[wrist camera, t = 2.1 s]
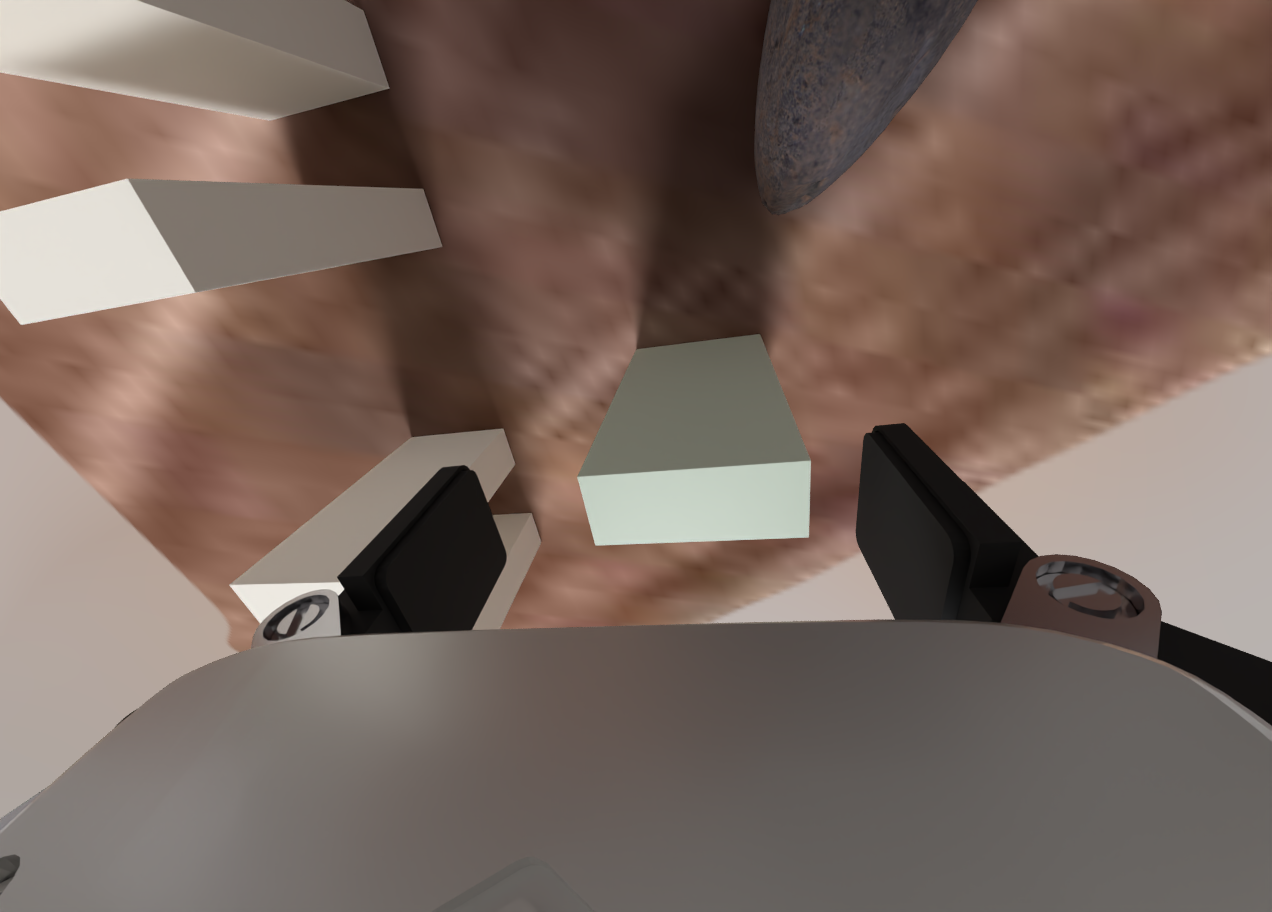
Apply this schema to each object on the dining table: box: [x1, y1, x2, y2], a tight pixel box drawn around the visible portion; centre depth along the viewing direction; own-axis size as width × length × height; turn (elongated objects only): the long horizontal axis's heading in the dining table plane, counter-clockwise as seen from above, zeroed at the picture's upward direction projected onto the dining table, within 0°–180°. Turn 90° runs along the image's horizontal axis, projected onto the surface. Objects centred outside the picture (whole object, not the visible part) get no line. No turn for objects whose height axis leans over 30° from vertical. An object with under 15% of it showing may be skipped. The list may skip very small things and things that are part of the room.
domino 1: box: [0, 0, 390, 121], centre depth 11 cm, size 5×2×10 cm, turn 99°
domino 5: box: [578, 334, 811, 545], centre depth 14 cm, size 5×2×10 cm, turn 100°
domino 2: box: [0, 179, 442, 325], centre depth 13 cm, size 5×2×10 cm, turn 99°
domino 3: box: [230, 429, 515, 624], centre depth 18 cm, size 5×2×10 cm, turn 99°
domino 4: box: [472, 513, 541, 630], centre depth 21 cm, size 5×2×10 cm, turn 99°
